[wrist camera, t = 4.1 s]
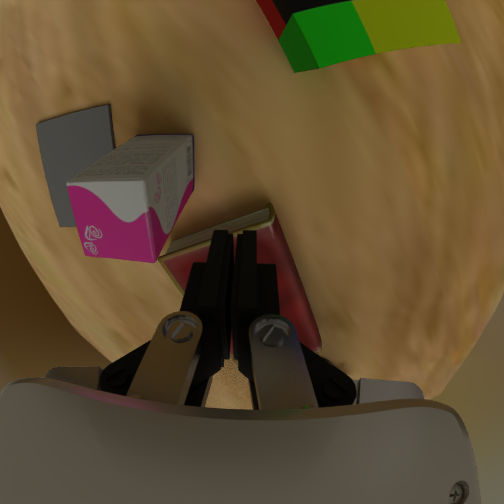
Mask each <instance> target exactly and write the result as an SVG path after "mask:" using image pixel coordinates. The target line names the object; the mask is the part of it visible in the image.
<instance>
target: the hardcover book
mask: <svg viewBox="0 0 504 504" xmlns="http://www.w3.org/2000/svg"><path fill="white" fill-rule="evenodd" d="M267 206H268V208H266V209H263V210H260V211H257V212H254V213H251V214H248V215H245V216H242V217H239V218H236V219H233V220H230V221H227V222H224V223H222V224H219V225H216V226H213V227H210V228H207V229H205V230H202V231H199V232H196V233H193V234H191V235H188V236H185V237H182V238H180V239H177V240H174V241H172V242H171V244H170V246H169V248H168V251H167V253H166V254H165V255H163V256H160V257H158V260H159V262H160V263H161V265H162V266H163V268H164V269H165V271H166V272H167V273H168V275H169V276H170V278H171V279H172V281H173V282H174V283H175V285H176V286H177V288H178V289H179V290H180V292H181V293H182V294H183V296H184V293H185V289H186V285H187V282H188V278H189V274H190V271H191V267H192V264H193V262H206V261H207V257H208V252H209V248H210V244H211V239H212V235H213V231H214V230H228V234H233V238H234V262H235V252H236V242H237V234H243V230H257V263H265V264H276V268H277V280H278V293H279V306H280V316H283V317H285V318H287V319H288V320H290V321H291V322H292V323H293V325H294V327H295V329H296V332H297V336H298V339H299V342H301V343H302V344H304V345H305V346H306V347H308V348H309V349H311V350H312V351H313V352H315V353H318V352H320V351H321V349H322V342H321V337H320V334H319V331H318V328H317V325H316V322H315V319H314V316H313V313H312V311H311V308H310V305H309V302H308V299H307V296H306V294H305V291H304V288H303V285H302V283H301V280H300V277H299V274H298V272H297V269H296V266H295V264H294V261H293V258H292V255H291V253H290V250H289V247H288V245H287V242H286V240H285V237H284V234H283V232H282V229H281V227H280V224H279V221H278V219H277V216H276V214H275V211H274V209H273V206H272V204H271V203H269V204H267ZM230 356H231V358H232V359H233V360H234V355H233V341H232V334H231V347H230ZM234 361H235V362H236V364H237V365H238V360H234Z"/></svg>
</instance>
